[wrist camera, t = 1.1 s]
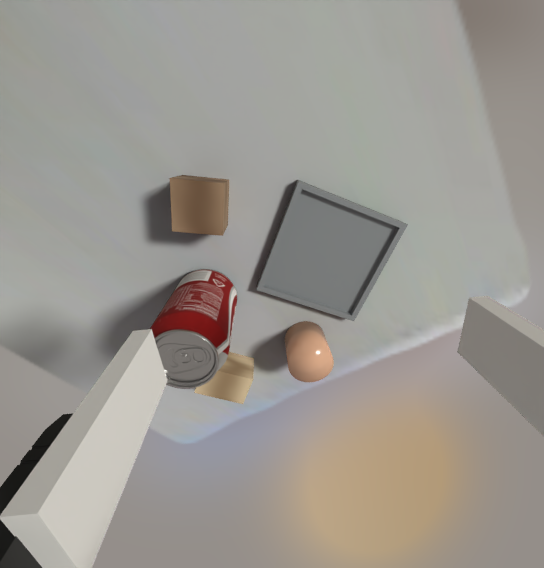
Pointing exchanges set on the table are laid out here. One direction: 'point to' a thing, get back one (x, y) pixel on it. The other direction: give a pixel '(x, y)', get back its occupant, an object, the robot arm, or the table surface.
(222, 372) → the oak block
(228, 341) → the soda can
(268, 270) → the tray
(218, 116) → the table surface
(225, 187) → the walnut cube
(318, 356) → the peach rounded capsule part
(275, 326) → the table surface
